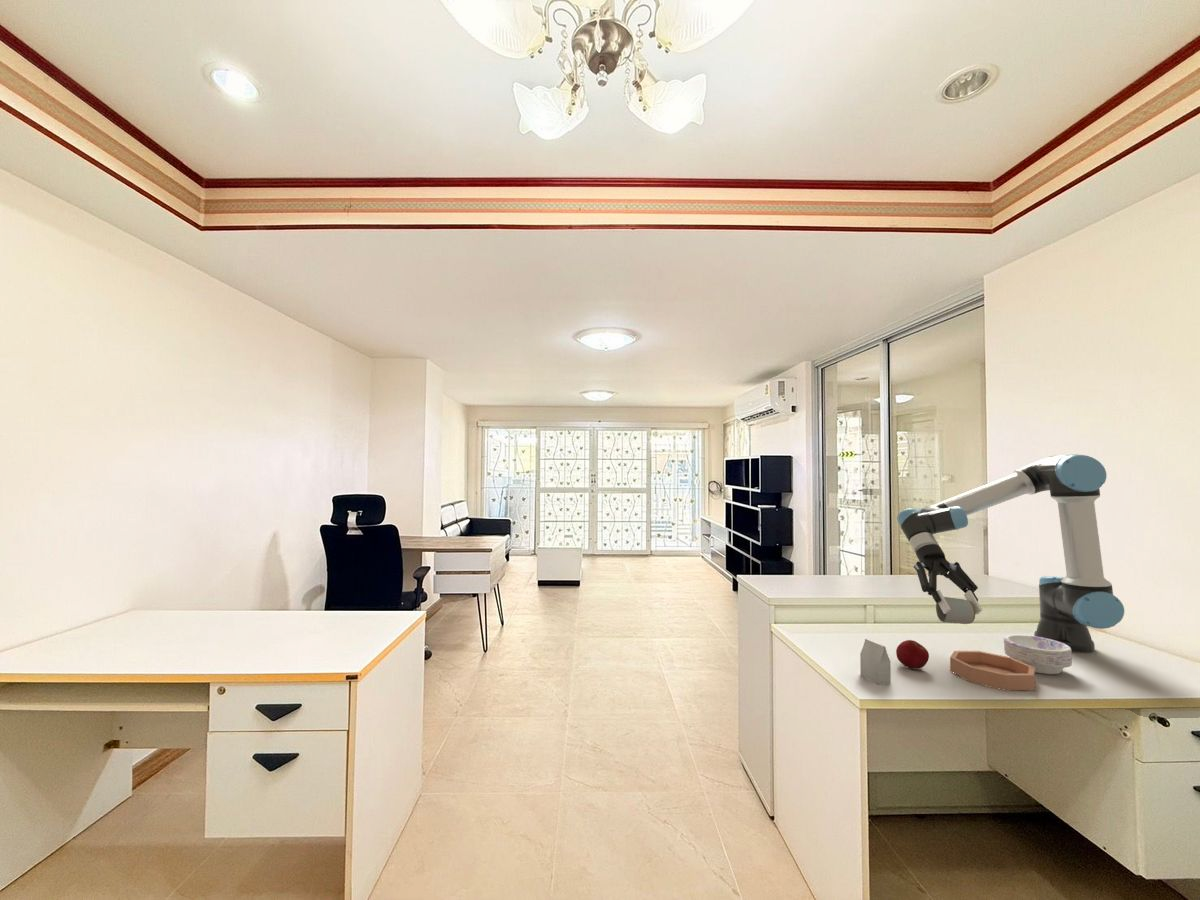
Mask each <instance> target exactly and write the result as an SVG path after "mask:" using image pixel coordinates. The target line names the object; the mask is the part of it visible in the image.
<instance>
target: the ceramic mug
mask: <svg viewBox="0 0 1200 900" xmlns="http://www.w3.org/2000/svg"><path fill="white" fill-rule="evenodd" d="M944 598H945V600H946V602H947V604H948V605H949V607H950V609H951V610H950V611H949V612H948V613H947V614H944V613H943V611H942V610H941V608H940V606H939V604H938V603H936V602H935V610H936V612H935V613H936V616H937V619H938V620H939V621H940V622H942V623H947V624H960V625H968V624H969V625H970V624H972V623H973V622H974V620H975V619H976V614H975V609H974V606H973V604H972V603H971V602H970V601H967V599H965V598H964V599H963V598H956V597H949V596H944Z"/></svg>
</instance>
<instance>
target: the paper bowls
mask: <svg viewBox="0 0 1200 900" xmlns="http://www.w3.org/2000/svg"><path fill="white" fill-rule="evenodd" d="M1003 644H1004V645H1003V646H1004V647H1003V649H1004V650H1003V651H1004V654H1005V656H1007V657H1011V658H1014V659H1016V660H1018V661H1021V662H1023V663H1025V664H1028V665H1030V666H1032V667H1035V674H1036V673H1037V674H1043V675H1057V674H1061V673H1062V672H1063V670H1064V669H1065V668H1069V667H1071V666H1072V665H1073V654H1072V652H1073V651H1072V650H1071V648H1070V647H1069V646H1068V645H1066V644H1064V643H1061V642H1058V641H1055V640H1051V639H1047V638H1042V637H1036V636H1034V635H1027V634H1009V635H1006V636H1004V638H1003Z"/></svg>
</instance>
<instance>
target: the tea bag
mask: <svg viewBox="0 0 1200 900" xmlns="http://www.w3.org/2000/svg"><path fill="white" fill-rule="evenodd" d="M886 648H887V647H886V646H885V645H882V644H879V643H877V642H876V641H875V642H874V641H873V640H870V639H867V638H865V639H864V642H863V645H862V649H861V650H860V656H859V658H860V659H859V660H860V663H859V665H860V676H861V677H863V678H865V679H867V680H868V681H871V682H874V683H876V684H877V685H880V686H881V685H889V684H891V681H892V680H891V679H892V677H891V659H890V657H889V654H888V651H887V649H886Z"/></svg>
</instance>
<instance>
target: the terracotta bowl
mask: <svg viewBox="0 0 1200 900" xmlns="http://www.w3.org/2000/svg"><path fill="white" fill-rule="evenodd" d="M949 670H950V672H951V671H952V672H951V673H953V672H954V673H953V674H955V673H956V674H955V675H957V676H959V677H960V676H961V677H960V678H962V677H963V678H962V679H964V678H965V680H966V679H967V680H966V681H968V680H969V681H968V682H970V683H973V682H974V684H977V683H979V684H978V685H981V684H982V685H983V686H985V685H987V686H986V687H989V686H991V687H990V688H993V687H995V689H998V688H1000V689H999V690H1002V689H1005V690H1004V691H1006V690H1034V691H1035V688H1036V687H1035V686H1036V672H1035V667H1032V666H1030V665H1028V664H1025V663H1023V662H1021V661H1018V660H1016V659H1014V658H1011V657H1009V656H1007V655H1001V654H996V653H991V652H986V651H981V650H953V652H952V653H951V655H950V657H949ZM1034 687H1035V688H1034Z"/></svg>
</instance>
